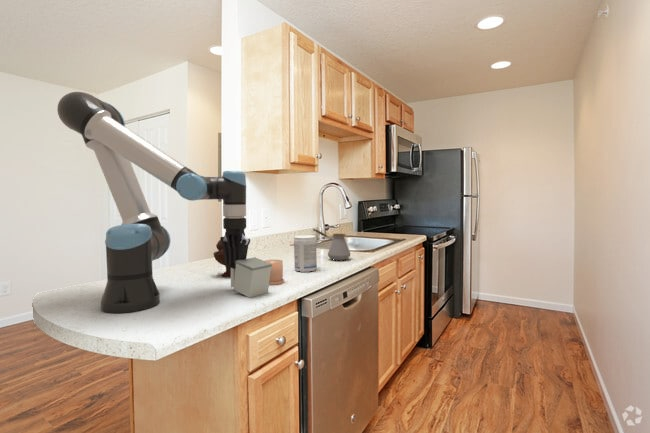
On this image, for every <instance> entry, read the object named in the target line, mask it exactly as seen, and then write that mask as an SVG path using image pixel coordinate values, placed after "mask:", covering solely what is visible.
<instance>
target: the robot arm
mask: <svg viewBox="0 0 650 433" xmlns="http://www.w3.org/2000/svg"><path fill="white" fill-rule="evenodd" d="M56 111H57V115H58V117H59V119H60V121H61V122H62V124H64V126H66V127H67V128H68V129H70V130H73V131H75V132H76V133H78V134H80V135H81V136H82V140H83V141H84V144H85V147H87V148H88V149H90V150H93V151H94V154H95V156H96V159H97V162H98V163H99V164H98V165H99V166H100V170H101V171H102V173H103V176H104V179H105V181H106V184H107V186H108V188H109V191H110V193H111V196H112V198H113V201H114V204H115V206H116V209H117V210H118V213H119V216H120V218H121V221H122V222H121V224H120V225H115V226H112V227H110V228H108V229H107V231H106V233H105V241H104V244H105V254H106V256H105V257H106V276H107V277H106V278H107V281H106V285H105V288H104V292H103V294H102V297H101V301H100V310H101V311H102V312H105V313H111V314H112V313H113V314H115V313H116V314H119V313H132V312H138V311H142V310H147V309H150V308H152V307H155V306H157V305H159V303H160V302H161V300H160V296H161V295H160V292H159V290H158V287H157V285H156V282H155V279H154V277H153V276H154V275H153V261H156V260H158V259H160V258H162V256H164V255H165V254H166V252H168V250H169V249H170V246H171V234H170V233H169V231H168V230H167V229H166V228H165V226H163V225H161V221H160V219H159V217H158V215H156V214H155V213H152V212H151V211H150V208H149V205H148V203H147V200H146V197H145V195H144V193H143V190H142V187H141V185H140V183H139V179H138V178H137V175H136V172H135V170H134V167H133V164H134V165H135V166H137V167H138V168H140V169H141V170H142V171H145V172H147V173H148V174H149V175H151V176H152V177H154V178H156V179H157V180H159V182H162V183H164V184H165V185H167V186H168V187H170V188H171V189H173V190H174V191H175V192H177V193H178V195H179V196H180V197H181V198H182V199H184V200H187V201H194V202H195V201H200V200H203V201H204V200H208V201H209V200H211V201H212V200H219V201H221V200H222V201H223V202H222V203H223V204H222V216H223V217H224V218H223V220H222V221H223V222H222V224H223V225H222V227H223V230H225V231H224V232H225V233H224V236H221V237H220V238H219V240H221V242H222V246H223V252H224V258H225V264H226V265H228V266H229V267H230V276H231V277H230V288H232V289H233V288H234V278H235V268H236V263H235V262H236V261H237V260H243V259H247V256H248V250H249V245H250V244H251V238H247V237H246V233H245V229H246V228H247V218H246V216H247V180H246V179H247V178H246V177H247V176H246V173H245V172H244V171H241V170H223V171H222V175H221V176H203V175H200V174H198V173H196V171H195V172H194V171H193V170H192V169H191V168H188V167H187V166H185V165H184V164H183V163H181V162H180V161H178V160H176V159H175V158H173V157H172V156H170V155H169V154H167V153H166V152H164V151H163V150H161V149H159V147H157V146H156V145H154V144H152V143H151V142H149V141H147V140H146V139H145V138H143V137H141V136H140V135H139V134H137V133H136V132H134V131H132V130H131V129H129V128H127V127H126V126H125V125H126V124H125V119H124V117H123V115H122V114H121V112H120V111H119V110H118V109H117V108H116V107H115V106H113V105H112V104H110V103H108V102H106V101H103V100H101V99H99V98H98V97H96V96H94V95H92V94H90V93H87V92H82V91H71V92H69V93H65V95H63V96H62V97H61V98H60V100H59V101H58V103H57V109H56Z"/></svg>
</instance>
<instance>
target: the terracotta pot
mask: <svg viewBox="0 0 650 433" xmlns="http://www.w3.org/2000/svg"><path fill="white" fill-rule="evenodd" d="M264 261H265V262H268V263H270V264H272V267H271V271H270V280H269V286H280V285H282V284H284V283H285V279H284V273H283V272H284V271H283V270H284V268H283V267H284V266H283V265H284V264H283V263H284V262H283V260H281V259H266V260H264ZM279 284H280V285H279Z"/></svg>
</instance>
